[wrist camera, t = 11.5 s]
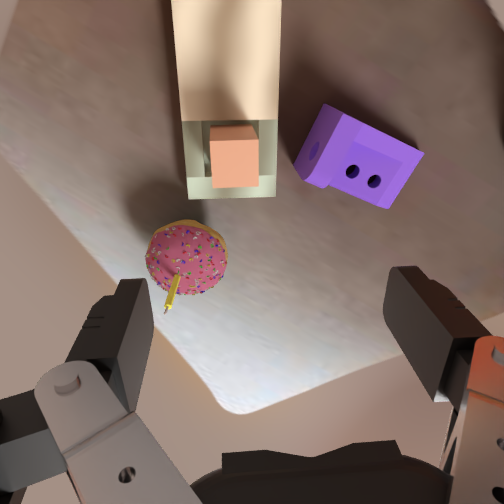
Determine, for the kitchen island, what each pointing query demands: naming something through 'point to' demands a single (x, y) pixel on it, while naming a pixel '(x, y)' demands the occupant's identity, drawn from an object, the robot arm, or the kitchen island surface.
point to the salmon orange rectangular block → (234, 156)
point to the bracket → (355, 158)
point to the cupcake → (186, 258)
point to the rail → (227, 84)
